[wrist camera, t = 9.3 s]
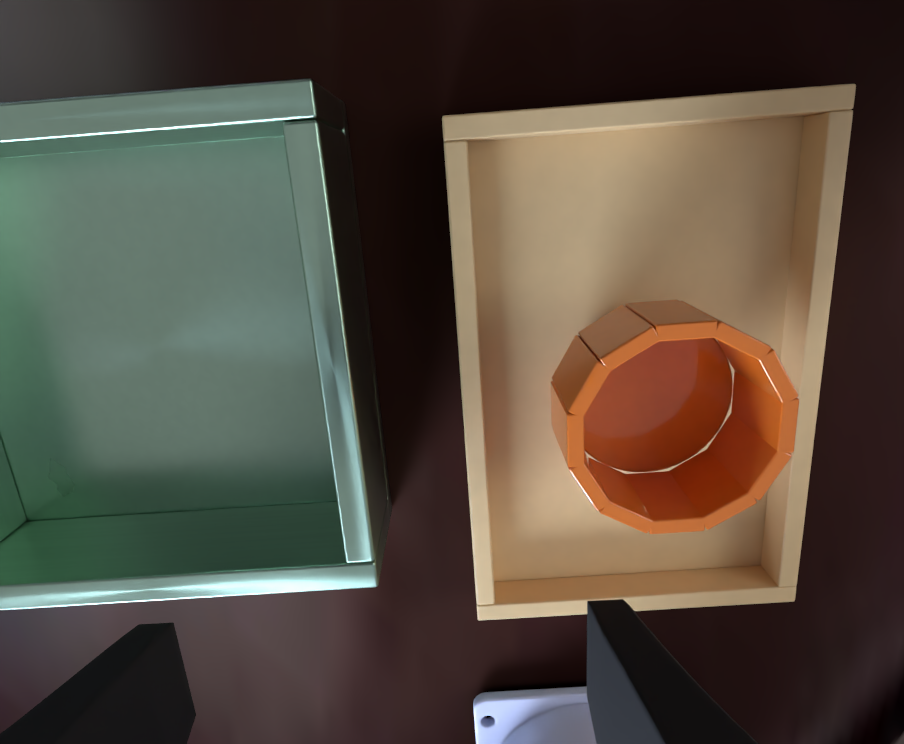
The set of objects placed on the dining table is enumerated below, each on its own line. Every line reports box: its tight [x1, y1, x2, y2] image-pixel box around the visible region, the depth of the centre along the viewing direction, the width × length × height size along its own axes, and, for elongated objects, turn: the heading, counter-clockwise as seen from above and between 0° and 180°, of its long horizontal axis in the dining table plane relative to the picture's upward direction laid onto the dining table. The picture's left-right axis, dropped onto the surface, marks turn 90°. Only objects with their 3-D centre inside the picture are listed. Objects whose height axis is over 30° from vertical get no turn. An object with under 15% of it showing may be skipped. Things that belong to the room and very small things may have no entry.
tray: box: [442, 84, 856, 620], centre depth 18 cm, size 15×10×2 cm
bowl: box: [551, 299, 799, 534], centre depth 16 cm, size 5×5×4 cm
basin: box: [0, 78, 392, 610], centre depth 17 cm, size 13×13×4 cm
